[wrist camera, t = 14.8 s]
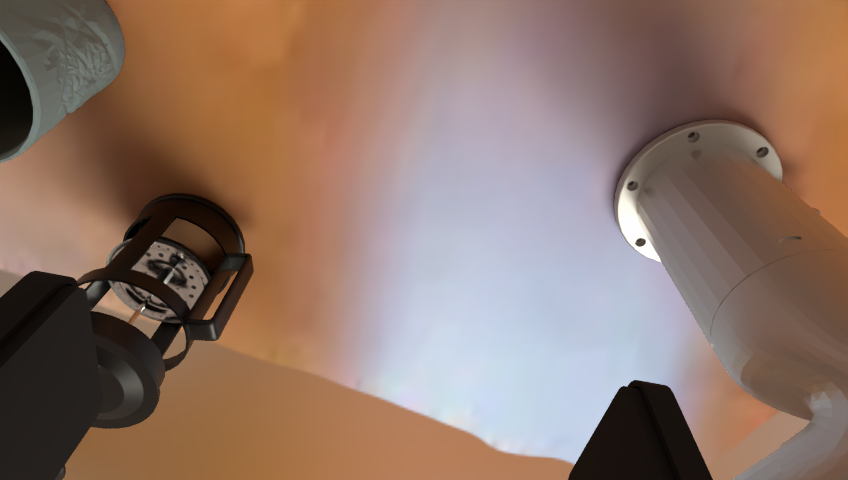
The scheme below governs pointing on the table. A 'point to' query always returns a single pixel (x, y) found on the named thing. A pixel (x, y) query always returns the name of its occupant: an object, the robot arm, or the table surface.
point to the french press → (160, 302)
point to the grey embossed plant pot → (52, 64)
